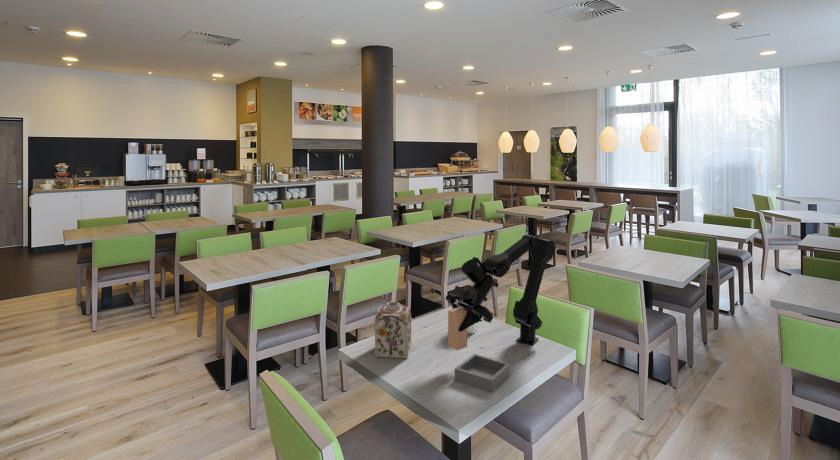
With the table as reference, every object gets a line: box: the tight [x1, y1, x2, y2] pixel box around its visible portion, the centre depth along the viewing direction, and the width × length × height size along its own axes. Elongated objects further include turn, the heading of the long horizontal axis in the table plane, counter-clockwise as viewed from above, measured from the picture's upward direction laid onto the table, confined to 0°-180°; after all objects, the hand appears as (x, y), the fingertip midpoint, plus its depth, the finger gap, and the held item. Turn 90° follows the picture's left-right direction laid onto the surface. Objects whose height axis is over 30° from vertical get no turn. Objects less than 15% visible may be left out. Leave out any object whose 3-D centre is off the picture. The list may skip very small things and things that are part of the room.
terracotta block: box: [447, 307, 468, 351], centre depth 153 cm, size 4×4×12 cm
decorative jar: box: [374, 301, 412, 360], centre depth 164 cm, size 12×12×18 cm
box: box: [454, 353, 511, 393], centre depth 147 cm, size 13×13×4 cm
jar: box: [460, 298, 479, 335], centre depth 184 cm, size 9×8×12 cm
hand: (454, 328), depth 152 cm, fingers closed on terracotta block, 4 cm apart
